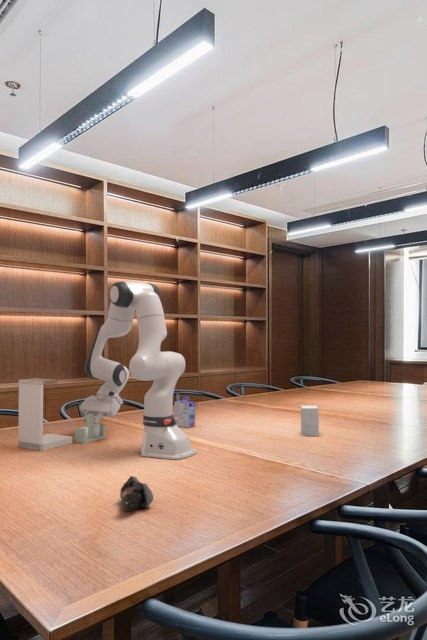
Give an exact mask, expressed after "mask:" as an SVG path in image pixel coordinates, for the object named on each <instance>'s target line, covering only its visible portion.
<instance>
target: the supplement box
mask: <svg viewBox="0 0 427 640" xmlns="http://www.w3.org/2000/svg"><path fill="white" fill-rule="evenodd" d="M319 416H320V415H319V408H318V406H317V405H300V433H301V435H302V437H319V436H320V431H319V429H320V425H319V424H320V423H319V418H320V417H319Z"/></svg>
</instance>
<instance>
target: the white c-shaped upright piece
mask: <svg viewBox="0 0 427 640" xmlns="http://www.w3.org/2000/svg"><path fill="white" fill-rule="evenodd" d="M55 384H58V379H53V378H38V377H34V378H33V377H32V378H22V379H18V448H23V449H29V450H33V451H37V452H43V451H46V450H50V449H51V450H52V449H54V448H58V447H61V446H66V445H70V444H73V436H69V435H62V434H56V433H52V432H51V433H47V434H44V386H46V385H55Z"/></svg>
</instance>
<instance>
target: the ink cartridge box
mask: <svg viewBox="0 0 427 640" xmlns="http://www.w3.org/2000/svg"><path fill="white" fill-rule="evenodd" d="M189 400H190V396H186V395H185V396H183V397H182V400H177V401H174V405H173V406H174V410H173V411H174V412H173V415H174V418H177V417H178V418H177V419H176V420H177V421H176V425H177V426H178V427H179V428H180V427H181V428H187V429H188V428H189V429H190V428H195V427H196V401H189Z"/></svg>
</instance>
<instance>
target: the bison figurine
mask: <svg viewBox="0 0 427 640" xmlns="http://www.w3.org/2000/svg"><path fill="white" fill-rule="evenodd" d="M119 491H120V492H119V499H120V505H121V508H122V510H124V511H129V512H130V511H134V510H136V509H138V508H140V507H141V508H144V509H148V508H149V506H150V505H151V504H152V502H153V501H154V495H153V491H152V490H151V489H150V487H149V486H148V484H147V483H142V482H141V481H140V480H139V479H138V478H137V476H132V475H131V476H129V478H127V480H126V482H124V483H123V485H122V486H121V487H120V490H119Z"/></svg>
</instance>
